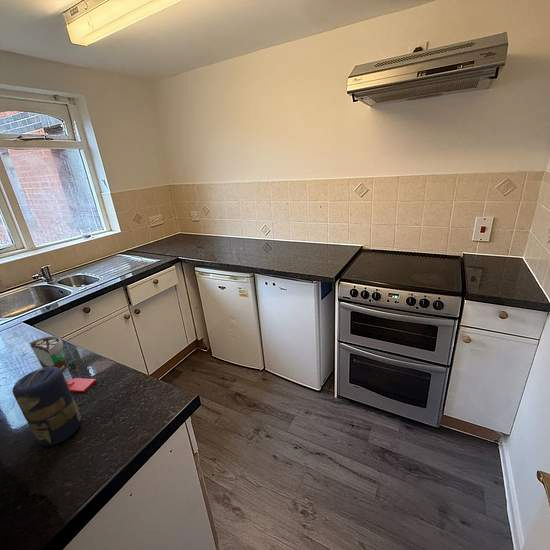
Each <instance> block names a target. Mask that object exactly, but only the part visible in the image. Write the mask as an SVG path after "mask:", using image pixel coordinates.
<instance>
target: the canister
mask: <svg viewBox="0 0 550 550" xmlns="http://www.w3.org/2000/svg"><path fill="white" fill-rule="evenodd" d="M66 381H67V379H66V378H65V375H64V374H63V372H62V371H61V370H60V369H59V368H57V367H45V368H42V367H41V368H38V369H35V370H33V371H31V372H29V373H27V374H25V375H23V376H22V377H21V378H20V379H18V380H17V381H16V383H14V385H13V387H12V395H13V397H14V399H15V401H16V403H17V405H18V407H19V409H20V411H21V412H22V415H23V416H24V419H25V421H26V422H27V425H28V426H29V428H30V430H31V432H32V434H33V436H34V437H35V440H36V441H37V443H38V444H39V445H42V446H53V445H57V444H59V443H62V442H64V441H66V440H67V439H69V438H71V436H73V435H74V434H75V433H76V432H77V431H78V430H79V428H80V426H81V424H82V415H81V413H80V411H79V407H78V405H77V404H76V401H75V398H74V396H73V394H72V392H70V390H69V387H68V385H67V383H66Z"/></svg>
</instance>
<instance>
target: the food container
mask: <svg viewBox="0 0 550 550" xmlns="http://www.w3.org/2000/svg"><path fill="white" fill-rule="evenodd" d="M29 346H30V348H31V349H32V350H33V351H32V352H34V355H35V356H36V358H37V360H38V362H39V365H40V366H41V368H45V367H57V368H59V369H60V370H61V371H62V373H63V372H64V371H66V369H67V367H68V362H67V359H66V355H65V353H64V349H63V347H64V342H63V341H62V340H61V339H60V338H59V337H58V336H45V337H42V338H38V339H35V340H33V341H30V342H29Z"/></svg>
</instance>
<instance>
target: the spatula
mask: <svg viewBox="0 0 550 550" xmlns="http://www.w3.org/2000/svg"><path fill="white" fill-rule="evenodd" d="M96 382H97V378H81V377H74V378H72V379H71V380H66V383H67V385H68V387H69V390H70V392H71V393H86V392H87V391H88V390H89V389H91V387H92V386H93V385H94V384H95V383H96Z"/></svg>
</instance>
